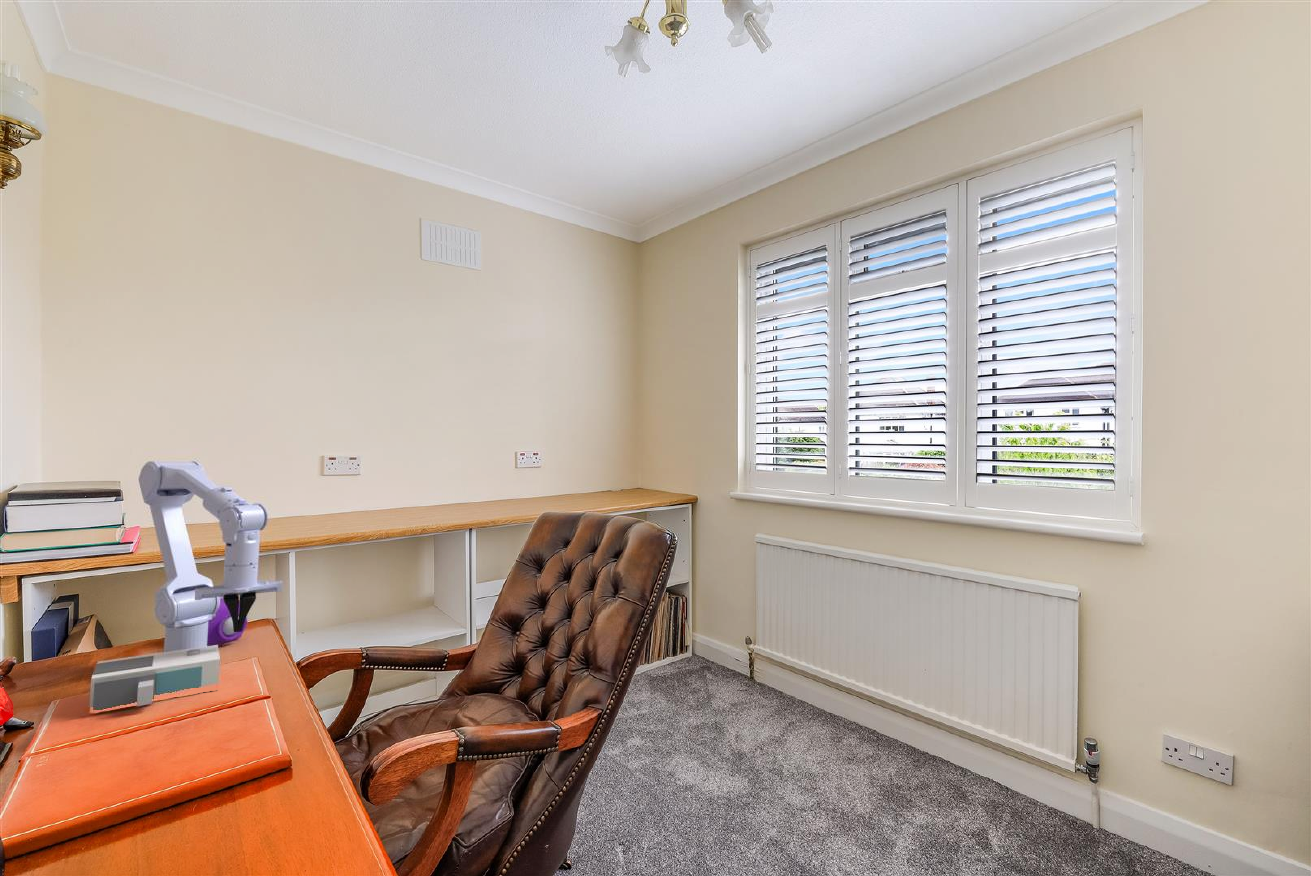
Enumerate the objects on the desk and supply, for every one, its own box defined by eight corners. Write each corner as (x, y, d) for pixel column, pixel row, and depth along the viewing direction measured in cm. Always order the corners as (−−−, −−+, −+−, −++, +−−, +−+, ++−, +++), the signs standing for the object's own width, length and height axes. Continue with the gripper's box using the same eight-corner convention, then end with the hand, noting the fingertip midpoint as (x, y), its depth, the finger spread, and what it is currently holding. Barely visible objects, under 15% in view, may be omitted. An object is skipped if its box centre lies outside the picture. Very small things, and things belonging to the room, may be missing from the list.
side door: (93, 711, 102) (95, 681, 102) (154, 700, 107) (155, 671, 107) (90, 720, 99) (92, 689, 99) (153, 709, 104) (154, 679, 104)
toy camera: (219, 652, 134) (222, 608, 134) (170, 646, 136) (173, 603, 137) (260, 638, 144) (262, 597, 145) (214, 632, 147) (216, 592, 147)
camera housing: (95, 694, 110) (98, 658, 110) (216, 674, 121) (217, 641, 121) (88, 714, 102) (91, 675, 102) (218, 690, 113) (220, 656, 113)
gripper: (196, 570, 113) (192, 642, 112) (285, 563, 122) (282, 630, 121) (196, 564, 118) (192, 632, 118) (281, 558, 127) (277, 621, 127)
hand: (237, 630), depth 120 cm, fingers closed
